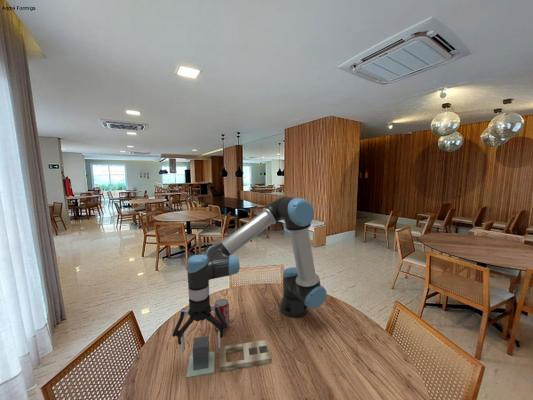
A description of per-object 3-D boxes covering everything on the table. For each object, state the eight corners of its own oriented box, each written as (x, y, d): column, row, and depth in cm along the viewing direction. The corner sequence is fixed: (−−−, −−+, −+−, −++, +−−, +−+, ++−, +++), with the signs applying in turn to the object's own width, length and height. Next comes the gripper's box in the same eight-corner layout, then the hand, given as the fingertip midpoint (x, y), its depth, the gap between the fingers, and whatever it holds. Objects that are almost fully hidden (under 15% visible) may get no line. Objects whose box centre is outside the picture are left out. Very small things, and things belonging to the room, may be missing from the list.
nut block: (209, 356, 88) (208, 335, 87) (208, 368, 83) (207, 346, 82) (195, 358, 87) (194, 337, 86) (193, 370, 82) (192, 348, 81)
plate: (266, 344, 95) (266, 339, 95) (271, 362, 86) (271, 358, 85) (219, 351, 91) (219, 346, 91) (219, 372, 82) (219, 367, 81)
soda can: (226, 333, 102) (225, 307, 101) (212, 331, 104) (211, 305, 102) (231, 323, 109) (231, 299, 108) (218, 321, 110) (217, 297, 109)
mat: (215, 352, 91) (214, 351, 91) (214, 373, 81) (214, 372, 81) (190, 356, 89) (190, 355, 89) (186, 378, 79) (186, 377, 79)
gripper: (231, 287, 89) (233, 335, 91) (166, 295, 84) (169, 345, 86) (232, 297, 81) (234, 349, 83) (161, 306, 76) (165, 361, 78)
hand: (201, 347), depth 85 cm, fingers open, 13 cm apart
